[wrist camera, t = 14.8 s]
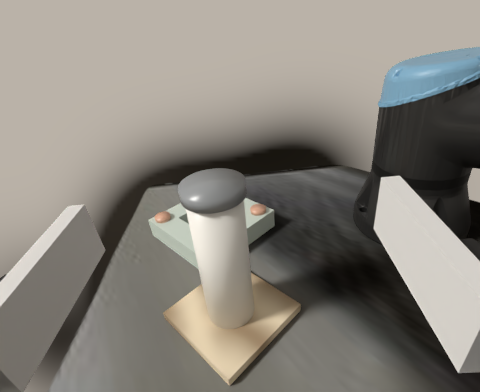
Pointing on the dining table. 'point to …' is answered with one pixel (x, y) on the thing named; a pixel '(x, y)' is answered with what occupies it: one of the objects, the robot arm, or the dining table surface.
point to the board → (233, 340)
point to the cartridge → (220, 243)
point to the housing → (179, 235)
